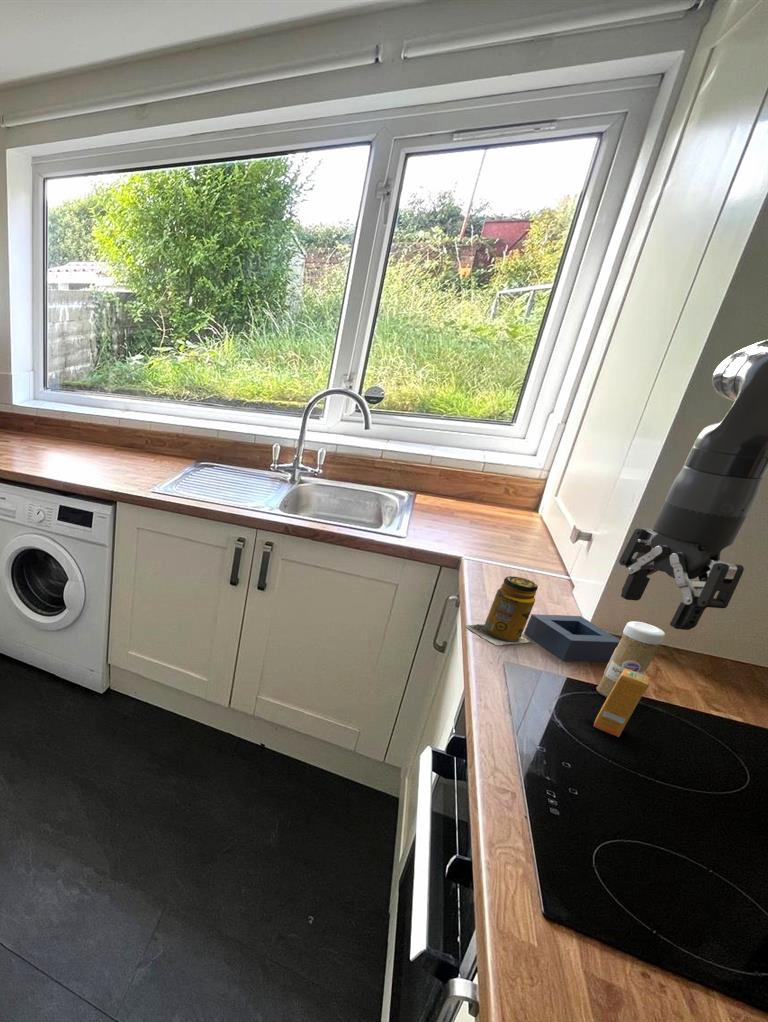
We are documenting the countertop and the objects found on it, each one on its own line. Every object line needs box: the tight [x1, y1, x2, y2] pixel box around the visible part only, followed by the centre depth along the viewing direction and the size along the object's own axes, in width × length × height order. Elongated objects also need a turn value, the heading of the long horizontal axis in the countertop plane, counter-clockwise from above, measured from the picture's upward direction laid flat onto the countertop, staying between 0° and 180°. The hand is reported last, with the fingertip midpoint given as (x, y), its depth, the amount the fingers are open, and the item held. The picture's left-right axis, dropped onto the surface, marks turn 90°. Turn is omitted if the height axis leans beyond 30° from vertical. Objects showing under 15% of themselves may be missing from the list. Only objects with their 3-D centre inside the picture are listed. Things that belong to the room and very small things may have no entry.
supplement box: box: [593, 668, 651, 738], centre depth 89 cm, size 3×3×10 cm
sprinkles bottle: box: [596, 620, 666, 699], centre depth 96 cm, size 5×5×14 cm
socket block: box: [523, 613, 621, 664], centre depth 112 cm, size 10×10×4 cm
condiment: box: [464, 575, 539, 646], centre depth 115 cm, size 7×8×12 cm
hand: (653, 612), depth 82 cm, fingers open, 8 cm apart
